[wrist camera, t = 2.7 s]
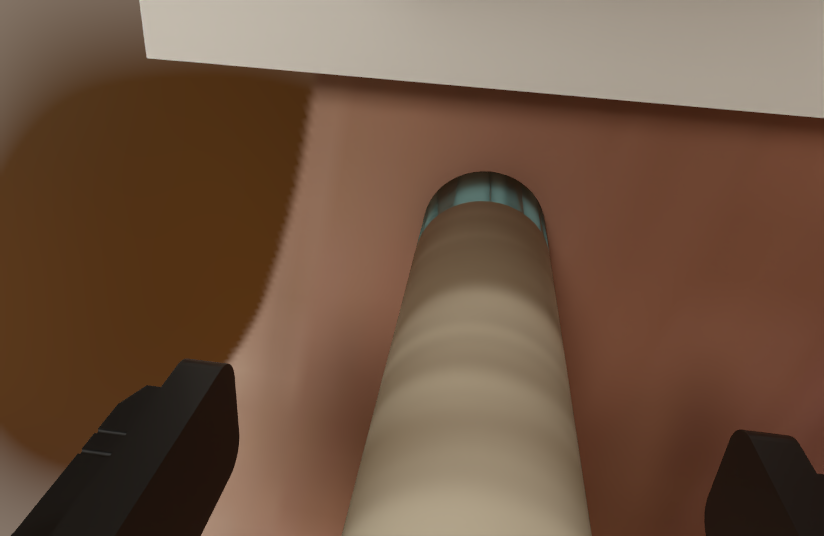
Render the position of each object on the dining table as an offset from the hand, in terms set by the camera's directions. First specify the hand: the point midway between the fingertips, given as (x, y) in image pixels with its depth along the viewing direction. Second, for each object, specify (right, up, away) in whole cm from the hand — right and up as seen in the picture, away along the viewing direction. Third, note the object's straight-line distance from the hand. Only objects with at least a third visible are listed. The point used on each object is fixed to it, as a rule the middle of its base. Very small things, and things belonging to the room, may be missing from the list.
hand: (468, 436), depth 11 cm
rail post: (+1, +4, +7) cm, 8 cm away
